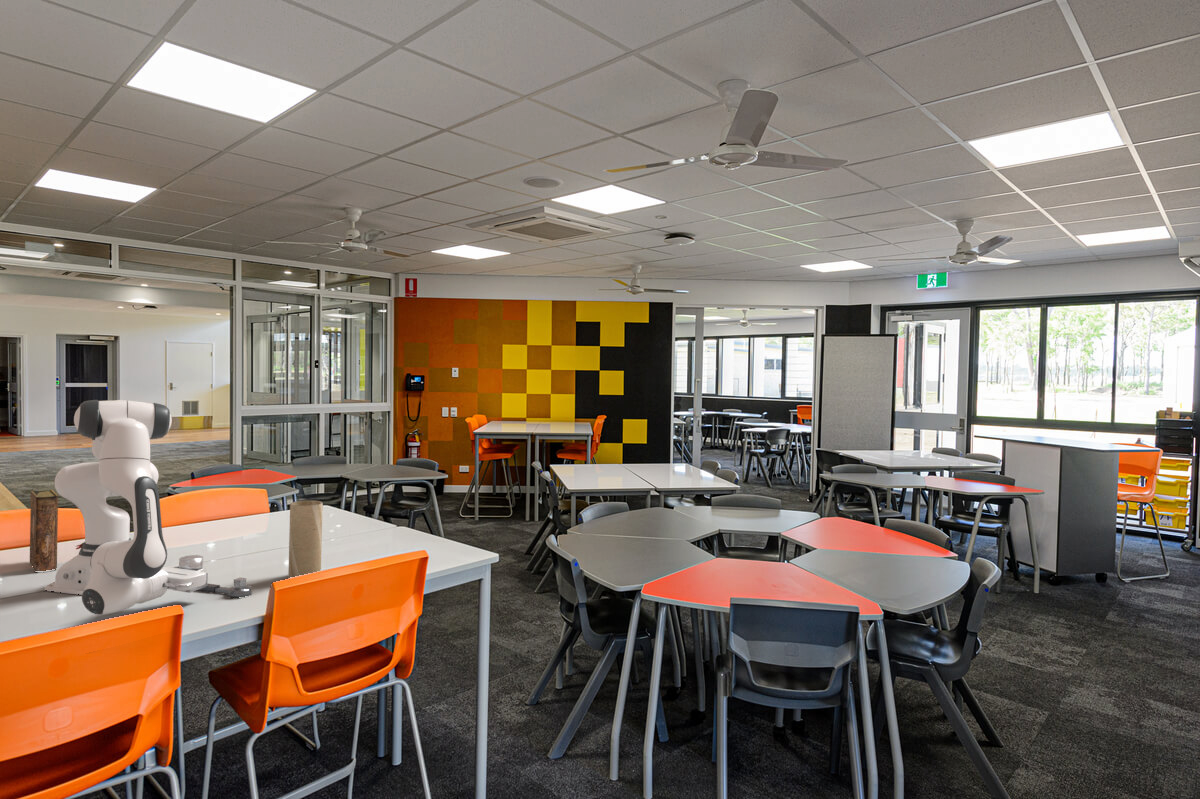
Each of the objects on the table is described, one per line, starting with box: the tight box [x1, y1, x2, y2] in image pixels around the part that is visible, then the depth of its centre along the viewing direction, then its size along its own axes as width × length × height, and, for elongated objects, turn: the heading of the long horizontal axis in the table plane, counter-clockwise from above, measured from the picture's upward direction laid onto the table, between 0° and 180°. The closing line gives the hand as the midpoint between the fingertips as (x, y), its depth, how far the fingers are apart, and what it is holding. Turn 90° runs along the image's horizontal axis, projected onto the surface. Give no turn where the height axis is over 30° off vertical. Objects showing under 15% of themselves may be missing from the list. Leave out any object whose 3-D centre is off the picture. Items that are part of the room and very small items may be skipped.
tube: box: [287, 499, 324, 579], centre depth 215 cm, size 10×10×25 cm
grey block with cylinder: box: [174, 554, 209, 593], centre depth 187 cm, size 6×6×9 cm
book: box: [29, 489, 59, 572], centre depth 216 cm, size 16×6×25 cm, turn 47°
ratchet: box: [196, 576, 253, 599], centre depth 197 cm, size 19×6×5 cm, turn 76°
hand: (193, 569), depth 188 cm, fingers closed on grey block with cylinder, 6 cm apart
